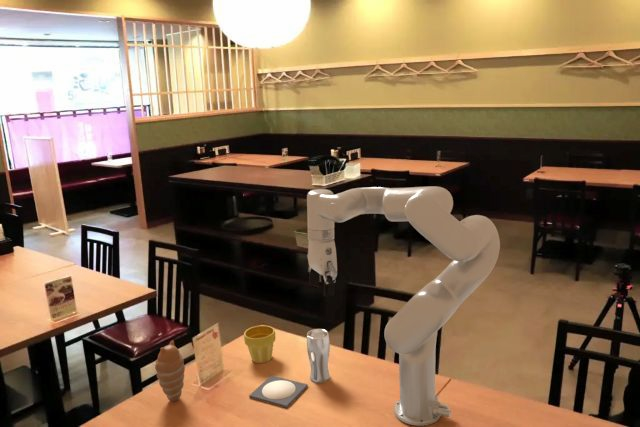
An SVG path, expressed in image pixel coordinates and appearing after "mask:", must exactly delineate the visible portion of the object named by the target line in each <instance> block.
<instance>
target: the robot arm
mask: <svg viewBox="0 0 640 427" xmlns="http://www.w3.org/2000/svg"><path fill="white" fill-rule="evenodd" d="M453 199H454V198H453V196H452V194H451V192H450V191H448V189H446V188H444V187H441V186H435V185H434V186H429V185H428V186H414V187H413V186H412V187H391V188H390V187H384V186H383V187H381V186H378V187H377V186H371V187H370V186H369V187H356V188H350V189H347V190H345V191H342V192H338V193H336V194H334V192H333V191H331V190H330V189H326V188H324V189H323V188H317V189H311V190H310V191H308V192H307V195H306V207H307V208H306V210H307V212H306V213H307V214H306V217H307V219H306V220H307V240H308V248H307V254H306V257H307V265H308V280H309V282H308V283H309V285H310V286H314V285H318V284H320V282H321V281H320V276H323V280H324V282H323V296H324V297H325V298H328V297H331V296H335V295H336V294H335V292H336V290H335V289H336V280H337V276H338V262H337V261H338V260H337V248H336V242H335V223H344V222H346V221H348V220H351V219H353V218H356V217H358V216H360V215H365V214H366V215H369V214H371V215H372V214H376V215H377V214H378V215H379V214H380V215H384V216H385V218H386V219H387V221H389V222H395V223H396V222H409V224H410V225H411V226H412V227H413V228H414V229H415V230H416V231H417V232H418V233H419V234H420V235H421V236H423V237H424V238H425V240H427V241H429V242H430V244H432V245H433V246H434V247H435V248H437V249H438V250H439V251H440V252H441V253H442V254H443V255H445V256H446V257H447V258H449V259H451V260H452V261H451V262H450V263H449V264H448V265H447V266H446V267H445V269H444V270H442V272H440V274H438V276H436V277H435V278H434V279H433V280H432V281H430V282H428V283H427V284H426V285H424V286H423V287H422V288H421V289H420V290H419V291H417V292H416V293H415V294H414V295H413V296H412V297H411V298H410V299H409V300H407V302H406V303H405V304H404V305H403V307H401V308H400V309H399V310H398V311H397V313H395V314H394V316H392V317H391V319H389V321H388V322H387V324H386V325H385V328H384V332H383V333H384V340H385V343H386V344H387V347H388V348H389V349H390V350H392V352H394V353H395V354H396V353H397V354H398V356H399V357H398V362H399V363H398V371H399V374H398V375H399V376H398V377H399V399H398V400H397V401H396V402H395V403H394V406H393V410H394V411H393V412H394V415H395V416H396V418H397V419H398V420H400V421H401V422H403V423H405V424H406V425H407V424H408V425H411V426H417V427H424V425H425V426H429V424H430V425H432V424H434V423H436V422H438V421H439V420H440V418H441V416H443V417H446V418H450V417H451V414H452V410H451V409H449V407H450V406H449V404H446V403H441V402H440V401H439V396H438V395H436V350H437V348H436V345H437V337H438V331H439V330H440V329H441V328H442V327H443V326H444V325H445V324H446V323H447V322H448V320H449V319H451V317H453V315H454V314H455V313H456V311H457V310H458V308H459V307H460V306H461V305H462V303H463V302H464V301H466V299H468V298H469V297H470V295H472V293H474V292H475V290H476V289H477V288H478V287H479V286H480V285H481V284H482V283H483V282H484V281H485V280H486V279H487V278H488V276H489V275H490V274H491V272H492V270H494V267H495V266H496V263H497V261H498V258H499V254H500V251H501V250H500V248H501V243H500V241H501V240H500V236H499V232H498V229H497V227H496V225H495V224H494V223H493V221H492V220H491V219H490V218H488V217H487V216H484V215H480V214H475V215H470V216H467V217H464V218H463V219H461V220H460V221H459V219H457V218H456V217H455V216H453V214H451V213H452V210H453V207H454V200H453ZM328 276H329V277H328Z"/></svg>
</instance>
